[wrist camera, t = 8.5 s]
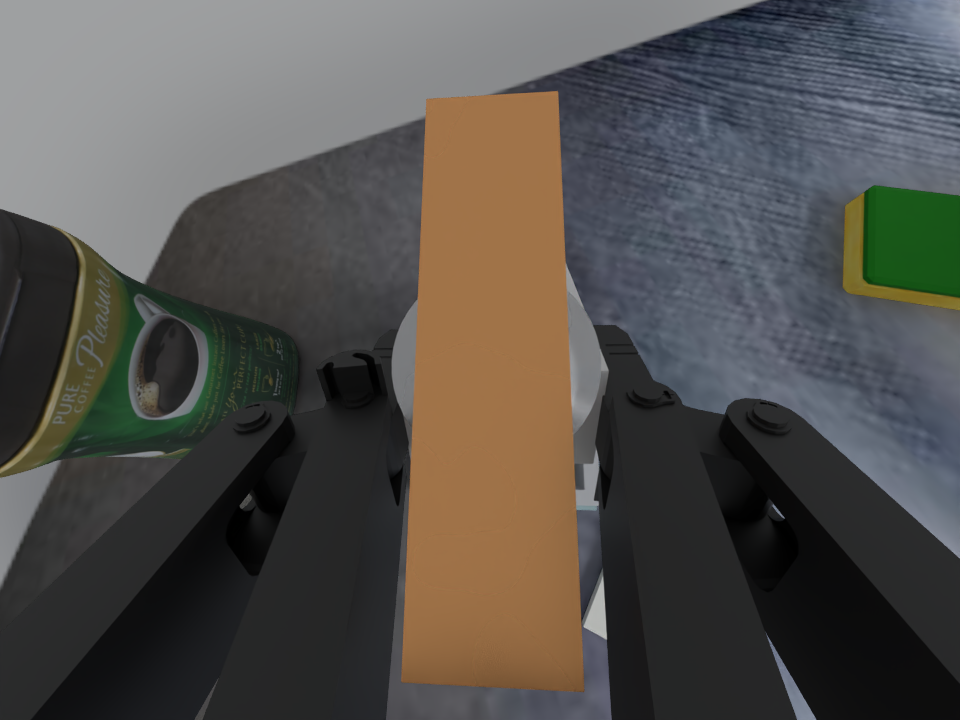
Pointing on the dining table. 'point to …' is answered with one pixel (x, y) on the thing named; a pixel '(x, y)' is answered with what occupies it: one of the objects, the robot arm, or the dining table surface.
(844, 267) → the dish sponge
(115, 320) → the coffee jar
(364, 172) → the dining table surface
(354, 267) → the dining table surface
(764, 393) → the dining table surface
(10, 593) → the dining table surface
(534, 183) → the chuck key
